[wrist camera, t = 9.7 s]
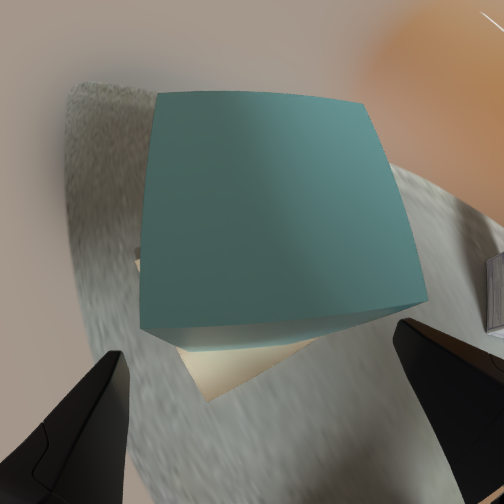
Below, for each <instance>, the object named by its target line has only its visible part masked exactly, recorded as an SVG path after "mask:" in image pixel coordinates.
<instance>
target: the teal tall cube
mask: <svg viewBox="0 0 504 504" xmlns="http://www.w3.org/2000/svg"><path fill="white" fill-rule="evenodd" d="M426 301H428V297H427V292H426V287H425V282H424V278H423V273H422V269H421V265H420V261H419V257H418V253H417V249H416V245H415V241H414V238H413V234H412V231H411V227H410V224H409V221H408V217H407V214H406V211H405V208H404V205H403V202H402V199H401V196H400V193H399V190H398V187H397V184H396V181H395V178H394V176H393V173H392V170H391V168H390V165H389V162H388V160H387V157H386V155H385V152H384V150H383V147H382V145H381V143H380V140H379V138H378V136H377V133H376V131H375V129H374V126H373V124H372V122H371V120H370V118H369V115H368V113H367V111H366V109H365V107H364V105H363V104H361V103H355V102H349V101H342V100H336V99H329V98H321V97H314V96H304V95H295V94H294V95H293V94H283V93H269V92H248V91H193V92H171V93H158V95H157V100H156V106H155V112H154V118H153V124H152V131H151V138H150V145H149V152H148V160H147V169H146V178H145V188H144V200H143V213H142V228H141V248H140V329H142V330H144V331H146V332H148V333H150V334H152V335H154V336H156V337H158V338H160V339H162V340H164V341H166V342H168V343H170V344H173V345H175V346H177V347H179V348H181V349H184V350H186V351H188V352H205V351H222V350H236V349H248V348H260V347H270V346H279V345H288V344H293V343H297V342H301V341H305V340H308V339H312V338H316V337H319V336H323V335H327V334H330V333H333V332H337V331H340V330H344V329H347V328H350V327H353V326H357V325H360V324H363V323H366V322H369V321H372V320H375V319H378V318H381V317H384V316H387V315H390V314H393V313H396V312H399V311H401V310H404V309H407V308H410V307H412V306H415V305H418V304H420V303H423V302H426Z"/></svg>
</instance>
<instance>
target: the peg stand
mask: <svg viewBox="0 0 504 504" xmlns="http://www.w3.org/2000/svg"><path fill="white" fill-rule="evenodd" d="M135 263H136V265H137V268H138V270H139V272H140V259H138V260H136V261H135ZM319 337H320V336H319ZM319 337H316V338H312V339H308V340H305V341H301V342H297V343H293V344H288V345H279V346H270V347H260V348H248V349H236V350H222V351H205V352H188V351H186V350H184V349H181V348H179V347H177V346H175V347H176V348H177V350H178V352H179V354H180V356H181V358H182V360H183V361H184V363H185V365H186V367H187V369H188V370H189V372H190V374H191V376H192V377H193V379H194V381H195V383H196V384H197V386H198V388H199V390H200V391H201V393H202V395H203V396H204V398H205V400H206V401H207V402H209V401H211V400H213V399H214V398H216V397H218V396H220V395H222V394H224V393H226V392H228V391H230V390H232V389H233V388H235V387H237V386H239V385H241V384H243V383H244V382H246V381H248V380H250V379H252V378H253V377H255V376H257V375H259V374H260V373H262V372H264V371H265V370H267V369H269V368H271V367H272V366H274V365H276V364H277V363H279V362H281V361H282V360H284V359H286V358H287V357H289V356H290V355H292V354H294V353H295V352H297V351H298V350H300V349H302V348H303V347H305V346H306V345H308V344H309V343H311V342H313V341H314V340H316V339H317V338H319Z"/></svg>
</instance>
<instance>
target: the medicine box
mask: <svg viewBox="0 0 504 504" xmlns="http://www.w3.org/2000/svg"><path fill="white" fill-rule="evenodd" d="M486 265H487V288H488V312H487V332H486V333H487V334H489V335H493V336H497V337H501V338H504V252H502V253H500V254H498V255H496V256H494V257H493V258H491V259H489V260H487V261H486Z"/></svg>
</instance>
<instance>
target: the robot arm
mask: <svg viewBox="0 0 504 504" xmlns="http://www.w3.org/2000/svg"><path fill="white" fill-rule="evenodd" d="M393 345H394V347H395V350H396V352H397V354H398V357H399V359H400V361H401V364H402V366H403V369H404V371H405V374H406V376H407V378H408V380H409V382H410V384H411V386H412V388H413V390H414V392H415V394H416V396H417V398H418V400H419V402H420V404H421V406H422V408H423V410H424V412H425V414H426V416H427V418H428V420H429V422H430V424H431V426H432V428H433V430H434V432H435V434H436V436H437V439H438V441H439V443H440V445H441V447H442V449H443V452H444V454H445V456H446V458H447V461H448V463H449V465H450V466H451V467H450V468H451V470H452V472H453V475H454V477H455V480H456V482H457V484H458V487H459V489H460V492H461V494H462V497H463V499H464V502H465V504H478V503H479V502H481V501H482V500H484V499H485V498H487V497H488V496H489V495H491V494H492V493H493V492H495V491H496V490H497V489H499V488H500V487H501V486H503V487H504V360H503V359H501V358H499V357H496V356H494V355H492V354H490V353H489V354H488V352H485V351H483V350H481V349H479V348H476V347H474V346H472V345H470V344H468V343H465V342H463V341H461V340H459V339H456V338H454V337H452V336H450V335H448V334H445V333H443V332H441V331H439V330H436V329H434V328H432V327H430V326H428V325H425V324H423V323H421V322H419V321H416V320H414V319H412V318H404V319H401V320H399V321H398V323H397V327H396V330H395V333H394V335H393ZM129 389H130V373H129V368H128V366H127V363H126V360H125V357H124V354H123V352H122V351H119V350H117V351H113V350H111V351H108V352H107V353H106V354H105V355H104V356H103V357H102V358H101V359H100V360H99V361H98V362H97V363H96V364H95V366H94V367H93V368H92V369H91V370H90V371H89V372H88V373H87V374H86V375H85V376H84V377H83V378H82V379H81V380H80V381H79V382H78V383H77V385H76V386H75V387H74V388H73V389H72V390H71V391H70V392H69V393H68V394H67V396H65V397H64V398H63V400H62V401H61V402H60V403H59V404H58V405H57V406H56V407H55V408H54V409H53V410H52V412H51V413H50V414H49V415H48V416H47V417H46V418H45V419H44V421H43V422H42V423H40V425H39V426H38V427H37V428H36V429H35V430H34V431H33V432H32V433H31V434H30V435H29V436H28V437H27V439H26V440H25V441H24V442H23V443H21V444H20V445H19V446H18V447H17V448H16V449H15V450H14V451H13V452H12V453H11V454H10V455H9V456H7V457H6V458H5V459H4V460H3V461H2V462H1V463H0V504H122V500H123V480H124V466H125V455H126V444H127V435H128V426H129ZM491 504H504V492H503V493H502V494H501V495H499V496H498V497H497V498H496V499H495V500H494V501H492V502H491Z"/></svg>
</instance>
